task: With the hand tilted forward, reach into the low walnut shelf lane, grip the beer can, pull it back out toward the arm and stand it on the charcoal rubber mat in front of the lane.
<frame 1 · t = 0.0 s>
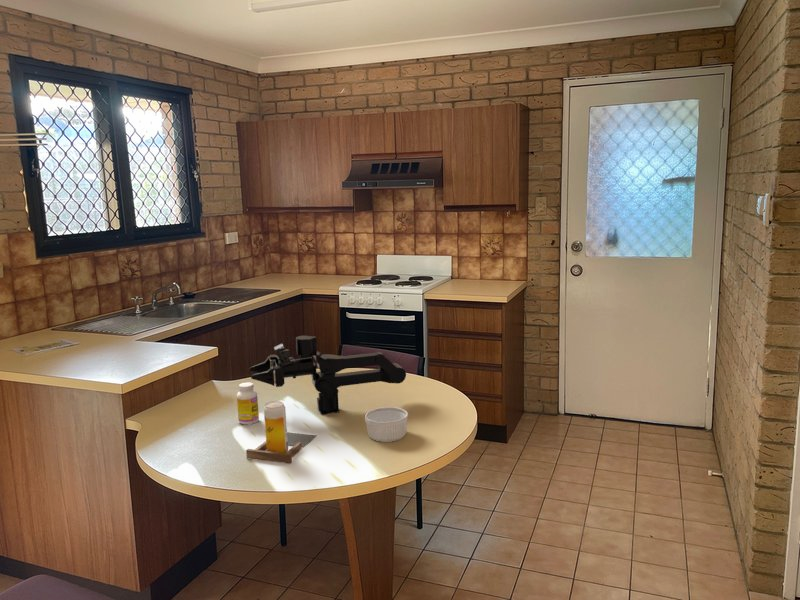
hand: (250, 373, 208), 17 cm above the table, tool horizontal, fingers open, 9 cm apart
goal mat: (293, 439, 194), on the table
supplement bottle: (249, 422, 211), on the table
shelf lane: (277, 453, 185), on the table
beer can: (277, 453, 185), on the table
ramekin: (387, 436, 196), on the table
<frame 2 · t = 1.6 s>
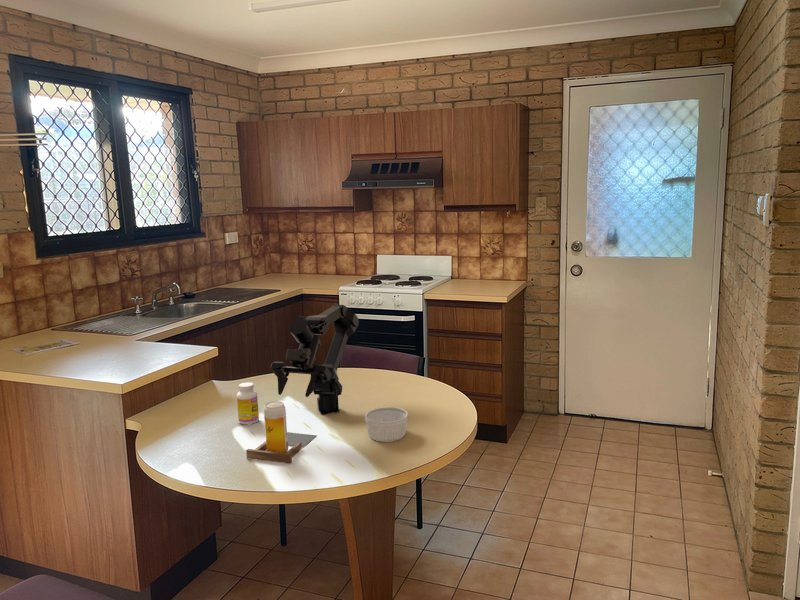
hand: (292, 395, 193), 14 cm above the table, tool tilted 45°, fingers open, 9 cm apart
nothing on the table moved.
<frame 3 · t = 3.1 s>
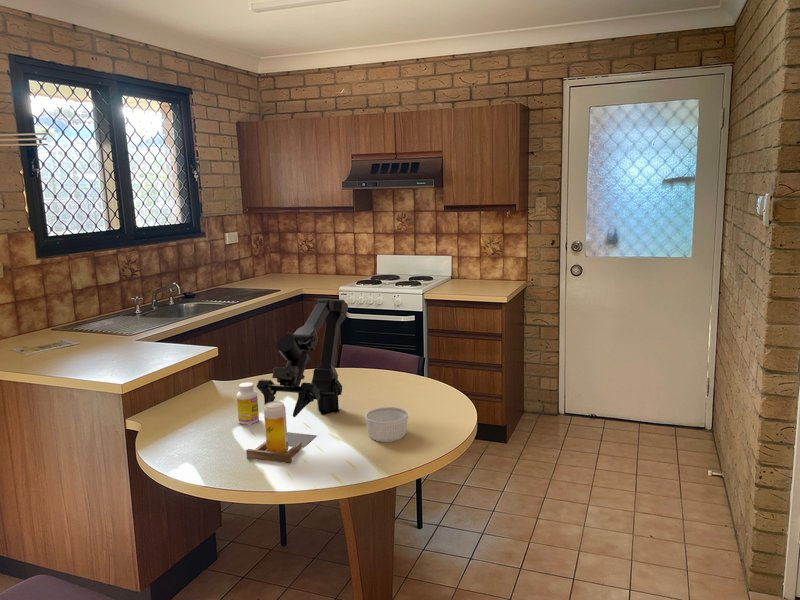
hand: (279, 415, 186), 11 cm above the table, tool tilted 45°, fingers open, 9 cm apart
nothing on the table moved.
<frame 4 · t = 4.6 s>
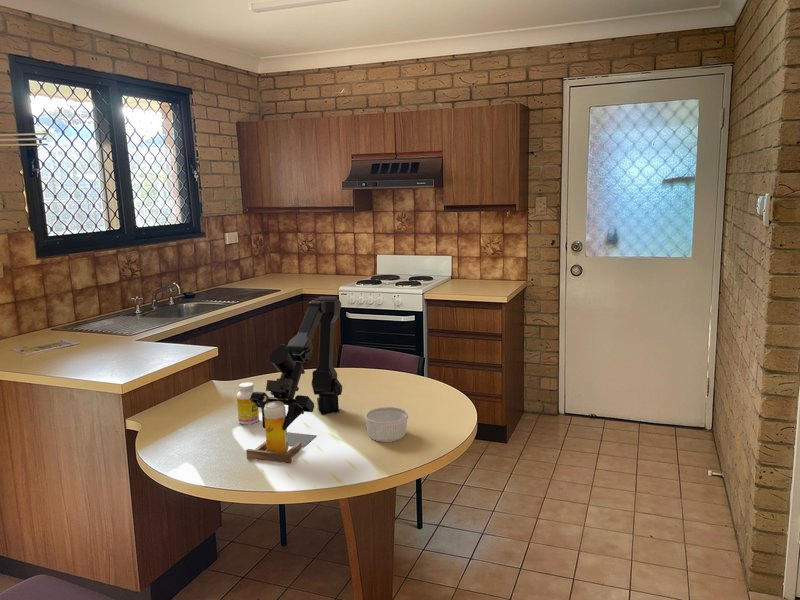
hand: (273, 428, 182), 8 cm above the table, tool tilted 45°, fingers closed on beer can, 6 cm apart
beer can: (277, 453, 185), on the table, touching gripper
everything else where it was.
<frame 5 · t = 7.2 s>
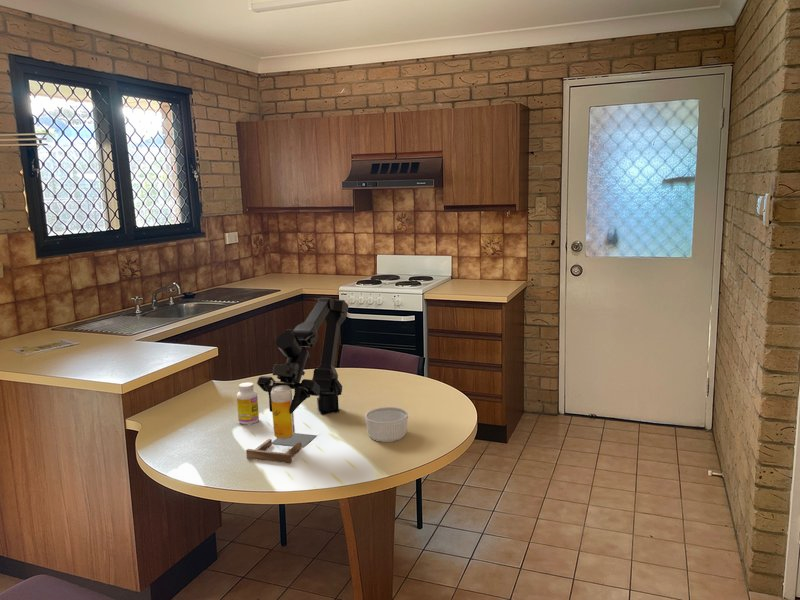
hand: (280, 412, 186), 11 cm above the table, tool tilted 45°, fingers closed on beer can, 6 cm apart
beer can: (284, 436, 189), point 3 cm above the table, touching gripper
everything else where it was.
when the fingers open (9 cm above the table, at t = 9.7 s): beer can stays where it is, resting on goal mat.
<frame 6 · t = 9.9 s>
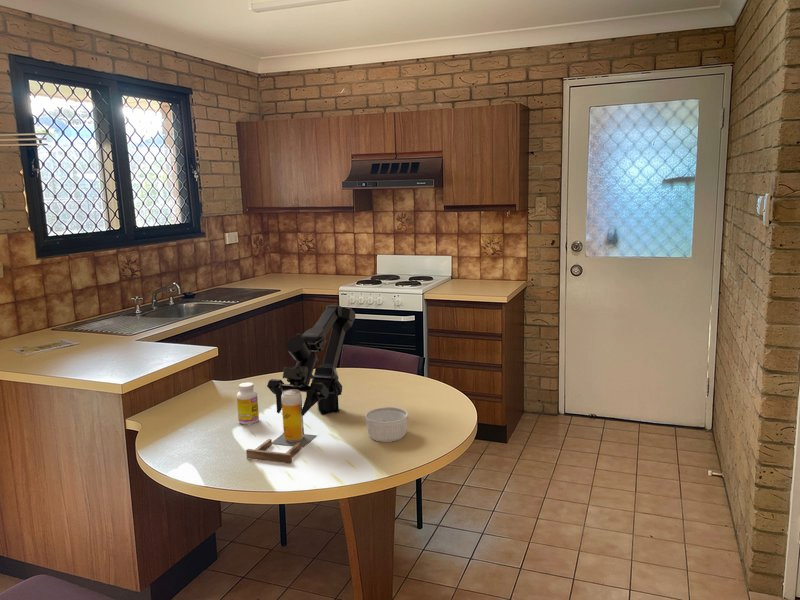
hand: (289, 414, 192), 9 cm above the table, tool tilted 45°, fingers open, 8 cm apart
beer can: (294, 439, 195), resting on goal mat
everything else where it was.
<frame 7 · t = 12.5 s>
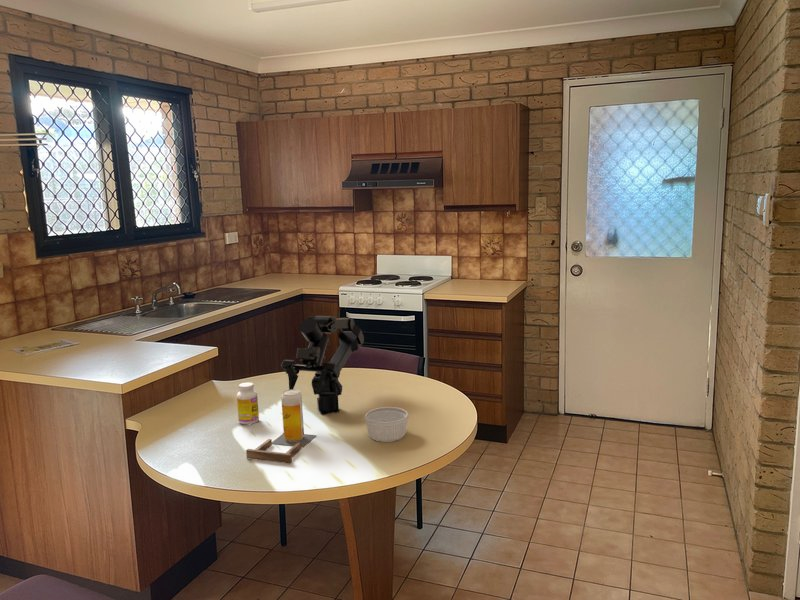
hand: (303, 392, 200), 12 cm above the table, tool tilted 45°, fingers open, 9 cm apart
nothing on the table moved.
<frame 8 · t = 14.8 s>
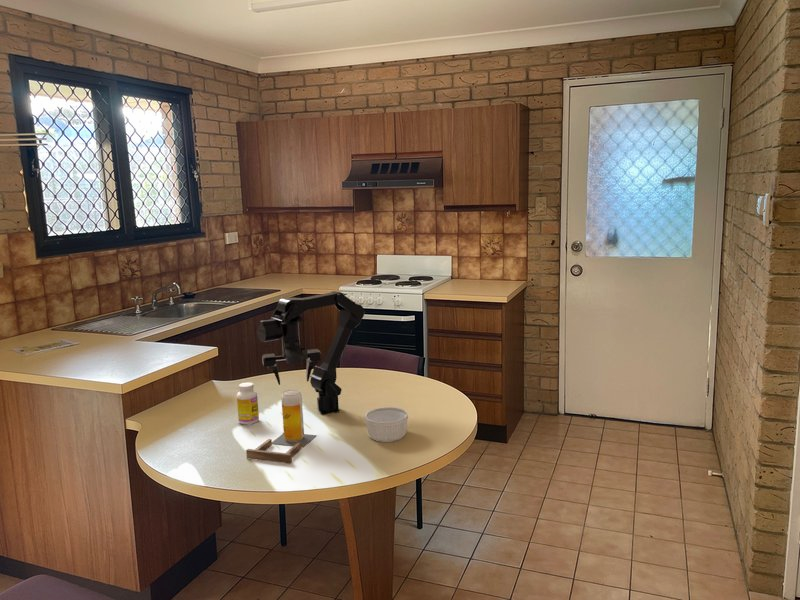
hand: (293, 382, 208), 13 cm above the table, tool pointing down, fingers open, 9 cm apart
nothing on the table moved.
at the end: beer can 0.2 cm from the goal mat (horizontally); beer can tilted 0°; the gripper is holding nothing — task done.
